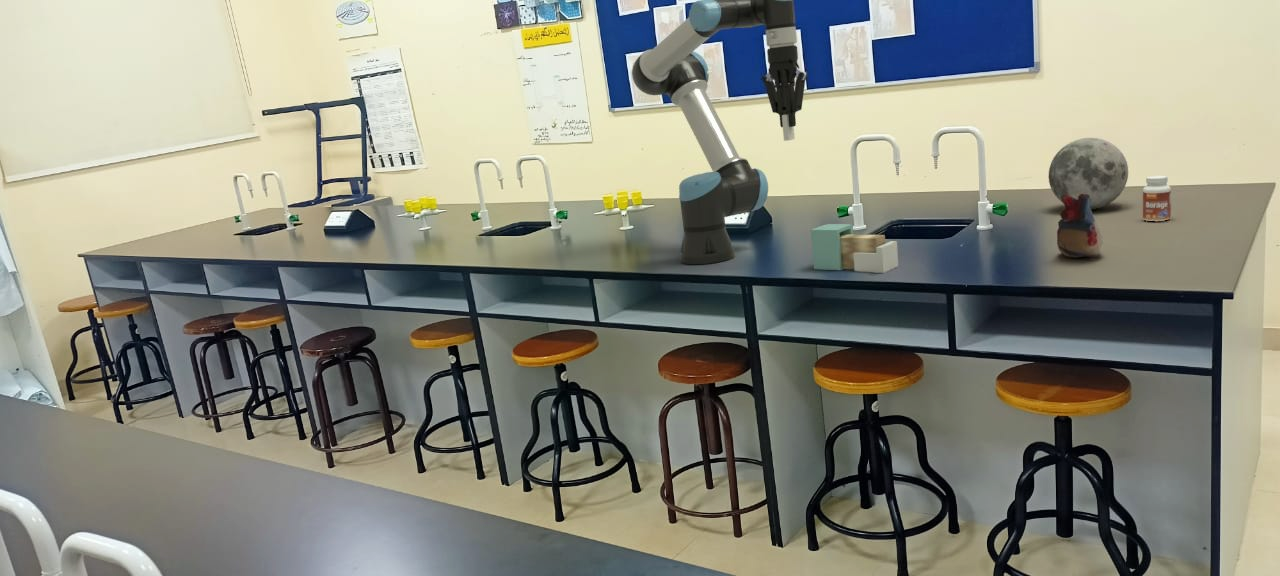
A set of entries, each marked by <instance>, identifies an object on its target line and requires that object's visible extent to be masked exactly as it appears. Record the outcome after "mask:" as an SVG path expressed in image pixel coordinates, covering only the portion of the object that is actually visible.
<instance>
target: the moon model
mask: <svg viewBox="0 0 1280 576" xmlns="http://www.w3.org/2000/svg"><path fill="white" fill-rule="evenodd" d="M1128 179H1129V165H1128V162H1127V158H1126V157H1125V155H1124V154H1123V152H1122V151H1121V149H1120V148H1118V147H1117V146H1116V145H1115V144H1113V143H1111V142H1110V141H1108V140H1105V139H1103V138H1102V139H1101V138H1097V137H1084V138H1079V139H1076V140H1073V141H1071V142H1069V143H1068V144H1066V145H1064V146H1063V147H1062V148H1060V150H1058V152H1057V153H1056V154H1055V155H1054V157H1053V158H1052V160H1051V162H1050V165H1049V169H1048V183H1049V187H1050V189H1051V191H1052V193H1053V194H1054V196H1055V197H1056V199H1058V200H1059V201H1060V202H1061V203H1062V204H1064V203H1063V202H1062V200H1061V196H1062V195H1063V194H1068V195H1070V196H1071V197H1073V198H1075V199H1077V200H1078V196H1079V195H1080V194H1088V195H1090V197H1091V202H1090V207H1091V209H1093V210H1097V209H1096V208H1098V209H1100V208H1104V207H1105V206H1108V205H1110V204H1111V203H1112V202H1114V201H1115V200H1116V199H1118V197H1119V196H1120V195H1121V194H1122V193H1123V191H1124V190H1125V187H1126V185H1127V183H1128Z"/></svg>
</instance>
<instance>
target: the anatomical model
mask: <svg viewBox="0 0 1280 576" xmlns="http://www.w3.org/2000/svg"><path fill="white" fill-rule="evenodd" d="M1061 200H1062V202H1063V203H1062V202H1061V203H1062V204H1063V205H1064V207H1065V208H1064V209H1062V210H1061V211H1060V220H1059V221H1058V222H1057V224H1058V229H1057V231H1056V233H1057V234H1056V239H1057V241H1056V244H1057V249H1058V250H1059V252H1060V253H1061V254H1062V255H1063V256H1065V257H1066V258H1082V257H1083V258H1084V257H1089V258H1094V257H1098V256H1099V255H1101V251H1102V247H1103V244H1104V241H1103V235H1102V233H1101V229H1100V225H1099V224H1098V221H1097V220H1096V219H1095V216H1094V214H1093V211H1092V210H1091V207H1090V202H1091V197H1090V195H1088V194H1080V195H1079V196H1078V200H1077V199H1075V198H1073V197H1071V196H1070V195H1068V194H1063V195H1062V196H1061Z"/></svg>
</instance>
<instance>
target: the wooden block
mask: <svg viewBox="0 0 1280 576" xmlns="http://www.w3.org/2000/svg"><path fill="white" fill-rule="evenodd" d="M883 244H886V235H885V234H854V233H853V234H840V247H841V260H842V270H845V269H846V270H855V268H854V255H853V253H855V252H862V253H876V247H879V246H881V245H883Z"/></svg>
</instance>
